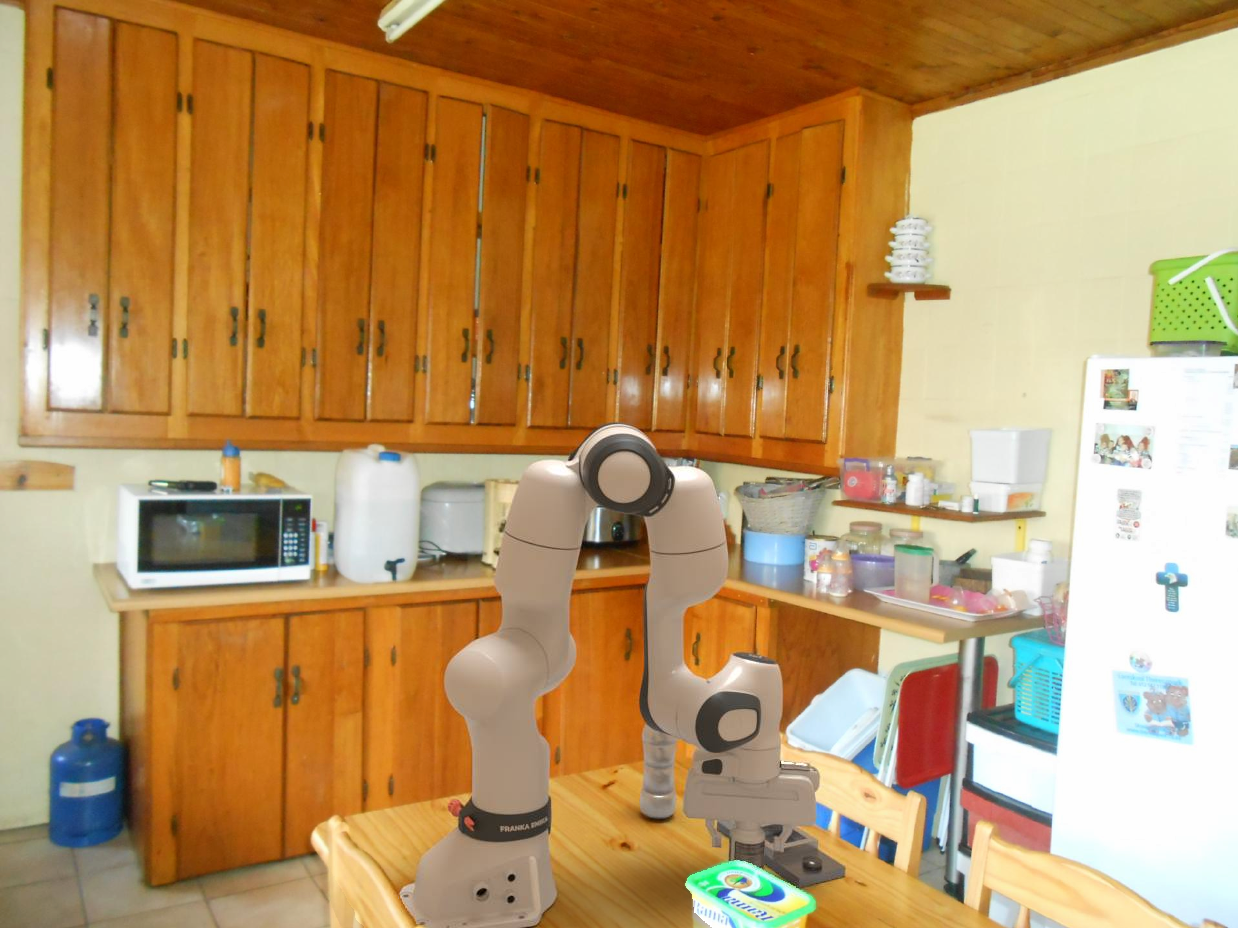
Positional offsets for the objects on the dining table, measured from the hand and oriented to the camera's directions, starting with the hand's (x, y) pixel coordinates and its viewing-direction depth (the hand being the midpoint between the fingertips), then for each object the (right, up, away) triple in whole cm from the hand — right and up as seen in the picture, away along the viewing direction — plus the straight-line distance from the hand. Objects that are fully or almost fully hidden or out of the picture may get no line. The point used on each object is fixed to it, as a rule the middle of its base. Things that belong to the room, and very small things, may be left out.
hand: (747, 848), depth 143 cm
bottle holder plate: (+6, -5, +9) cm, 12 cm away
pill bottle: (0, -5, 0) cm, 5 cm away
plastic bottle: (-13, -4, +22) cm, 26 cm away
